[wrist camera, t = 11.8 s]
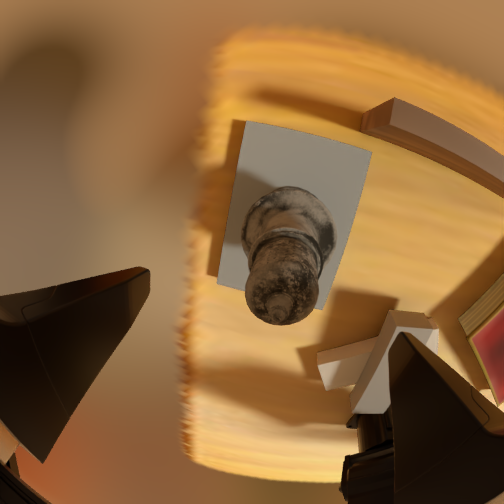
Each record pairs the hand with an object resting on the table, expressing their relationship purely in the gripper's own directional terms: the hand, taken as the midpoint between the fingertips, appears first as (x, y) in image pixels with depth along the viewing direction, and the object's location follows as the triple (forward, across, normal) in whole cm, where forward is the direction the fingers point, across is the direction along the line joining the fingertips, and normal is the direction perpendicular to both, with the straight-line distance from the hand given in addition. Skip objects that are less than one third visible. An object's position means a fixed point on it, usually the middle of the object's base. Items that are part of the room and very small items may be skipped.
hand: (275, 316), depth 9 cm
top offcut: (+11, -12, +10) cm, 19 cm away
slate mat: (+13, 0, 0) cm, 13 cm away
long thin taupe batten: (+13, -12, -8) cm, 19 cm away
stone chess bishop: (+12, 0, 0) cm, 12 cm away
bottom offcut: (+13, -12, +10) cm, 21 cm away
